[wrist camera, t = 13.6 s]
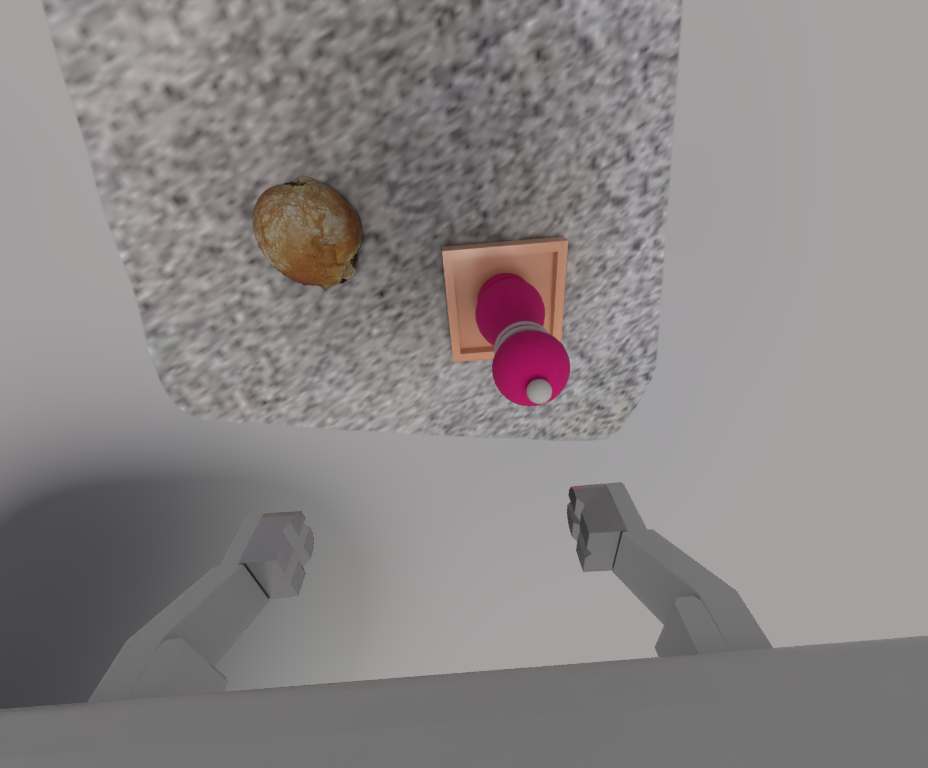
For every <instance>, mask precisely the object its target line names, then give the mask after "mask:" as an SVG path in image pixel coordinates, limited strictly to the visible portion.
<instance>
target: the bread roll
mask: <svg viewBox="0 0 928 768" xmlns="http://www.w3.org/2000/svg"><path fill="white" fill-rule="evenodd" d="M297 180H298V183H293V182H289V183H285V184H284V185H276V186H274V187H271V188H269V189H268V190H266V191H265V192H264V193H263V194H262V195H261V196H260V197H259V199H258V201H257V203H256V205H255V208H254V220H253V226H254V232H255V237H256V240H257V243H258V245H259V248H260V249H261V250H262V253H263V254H264V255H265V256H266V257H267V259H268V260H269V262H270V263H271V264H272V265H273V266H274V267H275V268H276V269H277V270H278V271H280V272H281V273H282V274H283V275H285V276H287V277H289V278H290V279H292V280H294V281H295V282H298V283H302V284H303V285H313V286H314V285H317V286H321V287H322V288H323V289H328V288H329V287H331V286H333V285H337V284H340V283H344V282H346V281H347V280H349V279H351V277H352V276H354V275H355V274H356V271H357V268H355V267H354V266H353V265H352V264H354V263H356V262H357V261H358V256H357V251H358V249H359V248H360V246H361V243H362V233H363V232H362V230H361V225H360V221H359V218H358V216H357V214H356V213H355V211H354V210H353V209H352V207H351V206H350V205H349V203H347V202H346V201H345V200H344V199H343V198H342V197H341V196H340V195H339V194H338V193H337V192H336V191H335V190H334V189H333V188H331V187H330V186H327V185H324V184H322V183H321V182H319V181H315V180H314V179H312V178H308V177H299V178H297Z"/></svg>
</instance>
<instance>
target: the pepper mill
mask: <svg viewBox="0 0 928 768" xmlns="http://www.w3.org/2000/svg"><path fill="white" fill-rule="evenodd" d="M475 319H476V323H477V326H478V328H479V331H480V333H481V334H482V336H483V337H484V338H485V339H486V340H487V341H488V342H489V343H490V344H491V345H493V346H494V355H495V356H494V359H493V364H492V372H493V378H494V381H495V384H496V386H497V388H498V389H499V390H500V392H501V393H502V394H503V395H504V396H505V397H506V398H507V399H509V400H510V401H512V402H514V403H516V404H519V405H523V406H537V405H542V404H544V403H547V402H549V401H551V400H553V399H554V398H555V397H557V396H558V395H559V394H560V393H561V391H562V390H563V389H564V388H565V386H566V384H567V381H568V378H569V374H570V362H569V357H568V354H567V352H566V350H565V348H564V346H563V345H562V344H561V342H560V341H558V340H557V339H556V338H555V337H554V336H552V335H550V334H549V333H548V331H547V330H546V329H545V328H544V327H543V325H544V320H545V306H544V303H543V300H542V297H541V296H540V294H539V292H538V291H537V290H536V289H535V288H534V287H533V286H532V285H531V284H529V283H527V282H526V281H525V280H524V279H523V278H521V277H520V276H518V275H516V274H512V273H501V274H497V275H495V276H493V277H491V278H490V279H488V280H487V281H486V282H485V283H484V284H483V286H482V287H481V289H480V291H479V294H478V299H477V306H476V311H475Z"/></svg>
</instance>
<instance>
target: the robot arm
mask: <svg viewBox="0 0 928 768" xmlns="http://www.w3.org/2000/svg"><path fill="white" fill-rule="evenodd" d="M569 498H570V501H571V502H570V503H569V504H568V505H567V517H568V524H569V529H570V532H571V535H572V537H573V538H574V539H575V540H576V541H577V549H576V551H577V554H578V558H579V561H580V564H581V567H582V570H583V572H590V571H608V570H613V573H614V574H615V575H616V576H617V577H618V578H619V579H620V580H621V581H622V582H623V583H624V584H625V585H626V586H627V587H628V588H629V589H630V590H631V591H632V592H633V593H634V594H635V596H637V597H638V599H639V600H640V601H641V602H642V603H643V604H644V605H645V606H646V607H647V608H648V609H649V610H650V611H651V612H652V613H653V614H654V615H655V616H656V617H657V618H658V619H659V620H660V621H661V622H662V623H663V625H664V627H663V630H662V632H661V634H660V637H659V638H658V641H657V643H656V645H655V649H656V652H657V654H658V657H655V658H642V659H630V660H618V661H606V662H592V663H581V664H580V663H579V664H568V665H554V666H542V667H529V668H516V669H504V670H491V671H480V672H466V673H453V674H441V675H428V676H416V677H404V678H391V679H378V680H365V681H353V682H341V683H328V684H316V685H303V686H290V687H278V688H265V689H253V690H241V691H228V692H224V690H225V687H226V684H227V679H226V676H225V675H223V674H222V673H221V672H220V671H219V670H218V669H217V668H216V667H215V666H216V664H217V663H218V662H219V661H220V659H221V658H222V657H223V656H224V655H225V653H226V652H227V651H228V650H229V649H230V648H231V646H232V645H233V644H234V643H235V642H236V640H237V639H238V638H239V637H240V636H241V634H242V633H243V632H244V631H245V630H246V628H247V627H248V626H249V625H250V624H251V622H252V621H253V620H254V619H255V618H256V616H257V615H258V614H259V613H260V612H261V610H262V609H263V608H264V607H265V606H266V604H267V603H268V602H269V599H272V598H273V599H274V598H283V597H291V596H298V595H299V592H300V589H301V585H302V583H303V580H304V577H305V574H306V573H305V571H304V568H303V566H304V565H305V564H306V563H307V562H308V561H309V560H310V558H311V555H312V552H313V545H314V537H313V532H312V530H311V528H310V527H309V526H307V525H305V524H304V521H305V516H304V515H303V513H302V511H296V512H279V513H264V514H252V515H249V516H248V517H247V518H245V519H244V521H243V523H242V525H241V527H240V529H239V530H238V532H237V534H236V536H235V538H234V540H233V542H232V544H231V545H230V547H229V549H228V551H227V553H226V555H225V556H224V559H223V561H222V562H221V564H220V566H217V567H213V568H212V569H211V570H210V571H209V572H207V573H206V574H205V575H204V576H203V577H202V578H201V579H199V580H198V581H197V582H196V583H195V584H193V585H192V586H191V587H190V588H189V589H187V590H186V591H185V592H184V593H183V594H182V595H180V596H179V597H178V598H177V599H176V600H175V601H173V602H172V603H171V604H170V605H169V606H168V607H166V608H165V609H164V610H163V611H162V612H160V613H159V614H158V615H157V616H156V617H154V618H153V619H152V620H151V621H150V622H148V623H147V624H146V625H145V626H144V627H143V628H141V629H140V630H139V631H138V632H137V633H135V634H134V635H133V636H132V637H131V638H130V639H128V640H127V641H126V643H125V645H124V646H123V647H122V649H121V651H120V652H119V654H118V655H117V657H116V658H115V660H114V662H113V663H112V665H111V666H110V668H109V669H108V671H107V672H106V674H105V676H104V677H103V679H102V680H101V682H100V683H99V685H98V686H97V688H96V690H95V691H94V693H93V694H92V696H91V697H90V699H89V701H88V702H87V703H79V704H78V703H77V704H66V705H53V706H40V707H28V708H15V709H3V710H0V768H928V636H917V637H907V638H895V639H882V640H870V641H858V642H844V643H833V644H819V645H806V646H794V647H781V648H773V647H772V645H771V644H770V642H769V641H768V639H767V638H766V636H765V635H764V633H763V631H762V630H761V628H760V627H759V625H758V624H757V622H756V620H755V619H754V617H753V616H752V614H751V613H750V611H749V609H748V608H747V606H746V605H745V603H744V602H743V600H742V598H741V597H740V595H739V594H738V592H737V591H736V590H734V589H733V588H732V587H730V586H729V585H728V584H726V583H725V582H724V581H722V580H721V579H719V578H718V577H717V576H715V575H714V574H713V573H711V572H710V571H708V570H707V569H706V568H704V567H703V566H702V565H700V564H699V563H698V562H696V561H695V560H693V559H692V558H691V557H689V556H688V555H687V554H685V553H684V552H682V551H681V550H680V549H679V548H677V547H676V546H675V545H673V544H672V543H670V542H669V541H668V540H666V539H665V538H663V537H662V536H661V535H660V534H658V533H657V532H655V531H654V530H647V528H646V526H645V524H644V522H643V520H642V518H641V517H640V515H639V513H638V511H637V509H636V507H635V505H634V503H633V501H632V499H631V497H630V495H629V493H628V491H627V490H626V488H625V486H624V484H622V483H621V482H619V483H608V484H594V485H584V486H574V487H570V489H569Z"/></svg>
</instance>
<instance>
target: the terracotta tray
mask: <svg viewBox="0 0 928 768" xmlns="http://www.w3.org/2000/svg"><path fill="white" fill-rule="evenodd" d="M567 254H568V240H567V239H566V238H564V237H563V236H561V237H549V238H538V239H526V240H514V241H502V242H490V243H478V244H466V245H455V246H443V247H442V257H443V267H444V277H445V287H446V297H447V307H448V317H449V327H450V337H451V347H452V357H453V362H461V361H473V360H485V359H494V356H495V355H494V346H493V345H491V344H490V343H489V342H488V341H487V340H486V339H485V338H484V337H483V336H482V334H481V333H480V331H479V328H478V326H477V323H476V319H475V311H476V306H477V299H478V294H479V291H480V289H481V287H482V286H483V284H484V283H485V282H486V281H487V280H488V279H490V278H491V277H493V276H495V275H497V274H501V273H512V274H516V275H518V276H520V277H521V278H523V279H524V280H525V281H526V282H527V283H529V284H531V285H532V286H533V287H534V288H535V289H536V290H537V291H538V292H539V294H540V296H541V297H542V300H543V303H544V306H545V320H544V325H543V327H544V328H545V329H546V330H547V331H548V333H549V334H550V335H552V336H554V337H555V338H556V339H557V340H558V341H560V342H561V336H562V322H563V309H564V295H565V281H566V268H567Z"/></svg>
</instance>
